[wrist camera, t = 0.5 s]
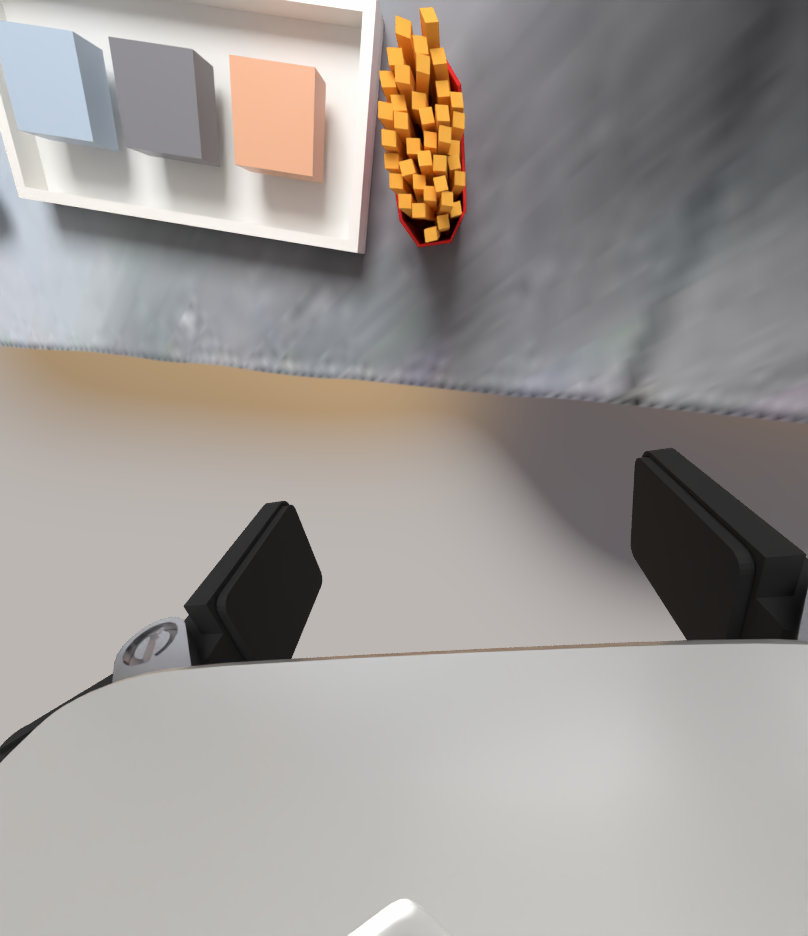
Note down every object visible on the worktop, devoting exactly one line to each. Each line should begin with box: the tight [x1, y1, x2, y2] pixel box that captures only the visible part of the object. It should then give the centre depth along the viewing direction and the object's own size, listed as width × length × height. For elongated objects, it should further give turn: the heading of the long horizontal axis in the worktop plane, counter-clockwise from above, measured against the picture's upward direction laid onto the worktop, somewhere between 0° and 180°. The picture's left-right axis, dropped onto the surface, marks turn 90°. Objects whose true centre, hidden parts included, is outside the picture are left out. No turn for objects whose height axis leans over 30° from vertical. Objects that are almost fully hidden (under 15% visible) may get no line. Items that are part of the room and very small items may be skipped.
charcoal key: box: [108, 36, 220, 167], centre depth 27 cm, size 6×6×2 cm
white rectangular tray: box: [0, 0, 384, 254], centre depth 28 cm, size 14×28×3 cm, turn 82°
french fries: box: [378, 7, 466, 247], centre depth 24 cm, size 9×4×13 cm, turn 7°
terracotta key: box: [229, 55, 326, 183], centre depth 26 cm, size 6×6×2 cm
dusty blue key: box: [0, 20, 119, 151], centre depth 27 cm, size 6×6×2 cm
